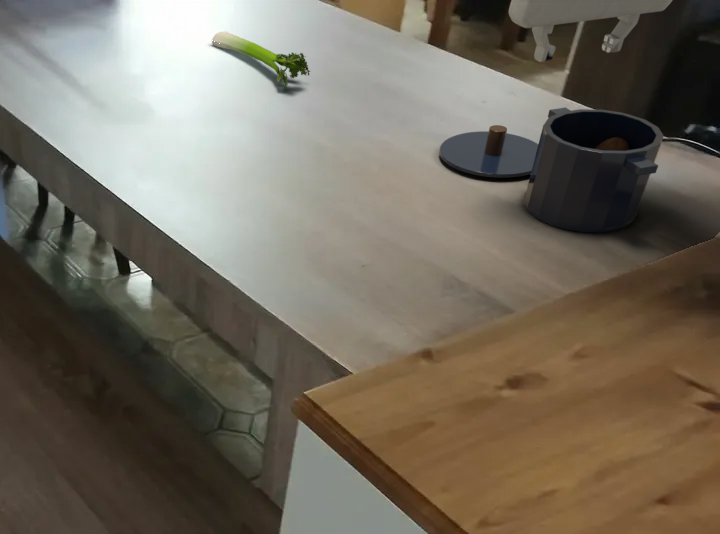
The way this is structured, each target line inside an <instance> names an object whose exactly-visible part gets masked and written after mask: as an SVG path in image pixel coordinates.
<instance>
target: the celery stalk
mask: <svg viewBox="0 0 720 534" xmlns="http://www.w3.org/2000/svg"><path fill="white" fill-rule="evenodd" d="M212 40H213V41H212ZM214 41H215V42H214ZM219 43H220V44H219ZM211 44H212V46H213V47H218V48H223V49H226V50H227V49H228V50H232V51H234V52H237V53H240V54H243V55H246V56H248V57H251V58H253V59H256V60H258V61H260V62H262V63H264V64H265V65H266V66H268V67H270V68H271V69H273V70H274V71H275V73H276V74H277V77H276V78H275V79H276V81H277V83H279V82H281V80H282V83H283V85H284V88H285V89H286V90H288V85H289V82H288V74H287V73H286V71H287V69H288V72H289V73H290V74H289V76H290V77H289V78H290V79H295V78H298V77H299V73H300V75H301V76H303V75H304V76H308V77H309V76H310V72H311V70H310V69H309V65H308V61H306V59H305V58H306V57H307V56H306V55H304V53H303V52H300V53H297V52H295V53H294V52H291V53H288V54H284V53H275V52H273V51H271V50H269V49H267V48H265V47H263V46H261V45H259V44H257V43H255V42H253V41H250V40H248V39H246V38H243V37H240V36H237V35H236V34H233V33H231V32H228V31H218V32H216V33H215V34H214V35H213V36H212V39H211ZM277 64H278V65H279V66H280V67H279V66H278V65H277ZM282 67H285V68H284V69H283V68H282Z"/></svg>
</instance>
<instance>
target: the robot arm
mask: <svg viewBox="0 0 720 534" xmlns="http://www.w3.org/2000/svg"><path fill="white" fill-rule="evenodd" d="M672 2H673V0H511V1H510V4H509V8H508V15H509V18H510V20H511V21H512V22H513V23H514V24H516V25H517V26H519V27H522V28H523V29H531V32H532V35H533V38H534V42H535V45H536V46H535V50H534V54H533V58H534V60H535V61H537V62H539V63H544V62H550V61H552V60H553V58H554V53H556V52H555V51H556V47H557V46H555V45H554V44H551V43H550V40H549V36H548V35H551V34H552V33H553V30H554V27H555V25H564V24H573V23H580V22H581V23H582V22H587V21H596V20H603V19H611V18H617V19H618V20H619V21H618V23H617V24H616V25H615V27H614V28H613V30H612V31H611V32H610V33H608V34H604V38H603V43H602V44H601V50H602V51H603V52H606V53H607V54H612V53H619V52H620V51H621V50H622V47H623V43H624V41H625V39H626V38H627V36H628V35H629V34H630V33H631V32H632V30H633V29H634V28H635V27H636V26H637V24H638V22H639V19H640V16H641V15H643V14H650V13H657V12H660V13H661V12H663V11H665V9H667V8H668V6H670V4H671V3H672Z"/></svg>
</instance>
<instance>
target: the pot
mask: <svg viewBox="0 0 720 534" xmlns="http://www.w3.org/2000/svg"><path fill="white" fill-rule="evenodd" d="M615 137H618V138H622V139H624V140H625V141H626V142H627V143H628V146H629V149H630V150H627V151H603V150H597V149H595V148H596V147H597V146H598V145H599V144H601V143H602V142H604V141H605V140H607V139H610V138H615ZM663 139H664V134H663V132H662V131H661V130H660V128H659V127H658V126H657V125H655V124H653V123H652V122H650V121H648V120H647V119H644V118H641V117H639V116H635V115H632V114H630V113H629V114H628V113H625V112H621V111H613V110H607V109H589V108H587V109H585V108H583V109H573V110H570V109H569V108H567V107H559V108H553V109H551V108H550V109H549V111H548V115H547V119H546V121H545V122H544V124H543V126H542V129H541V133H540V136H539V141H538V143H537V144H538V148H537V152H536V156H535V160H534V163H533V167H532V171H531V174H529V175H530V176H529V179H528V183H527V187H526V191H525V195H524V205H525V209H526V210H527V211H528V213H530V214H531V216H532V217H534V218H536V219H537V220H539V221H540V222H543V223H546V224H547V225H550V226H551V227H552V226H553V227H556V228H559V229H563V230H567V231H571V232H572V231H573V232H579V233H606V232H613V231H617V230H620V229H623V228H625V227H627V226H629V225H631V224H632V223H633V222H634V220H635V219H636V216H637V213H638V211H639V208H640V205H641V203H642V199H643V196H644V194H645V191H646V188H647V185H648V182H649V180H650V177H651V175H652V174H656V173H657V171H658V168H659V164H657V163H656V159H657V157H658V153H659V151H660V148H661V146H662V143H663Z"/></svg>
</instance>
